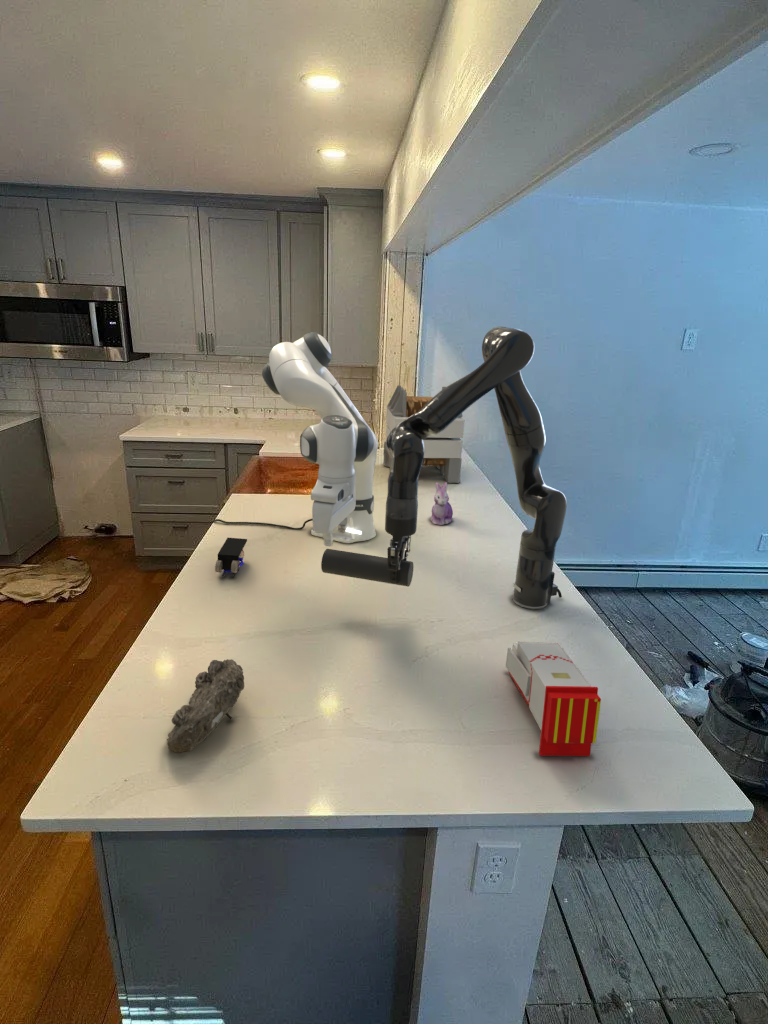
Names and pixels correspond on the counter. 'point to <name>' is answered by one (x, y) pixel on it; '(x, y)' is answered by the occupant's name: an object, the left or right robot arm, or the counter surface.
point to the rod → (364, 566)
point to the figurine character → (230, 556)
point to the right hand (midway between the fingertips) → (398, 576)
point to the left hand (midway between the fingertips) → (335, 538)
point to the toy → (556, 697)
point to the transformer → (438, 447)
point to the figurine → (441, 506)
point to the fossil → (206, 705)
